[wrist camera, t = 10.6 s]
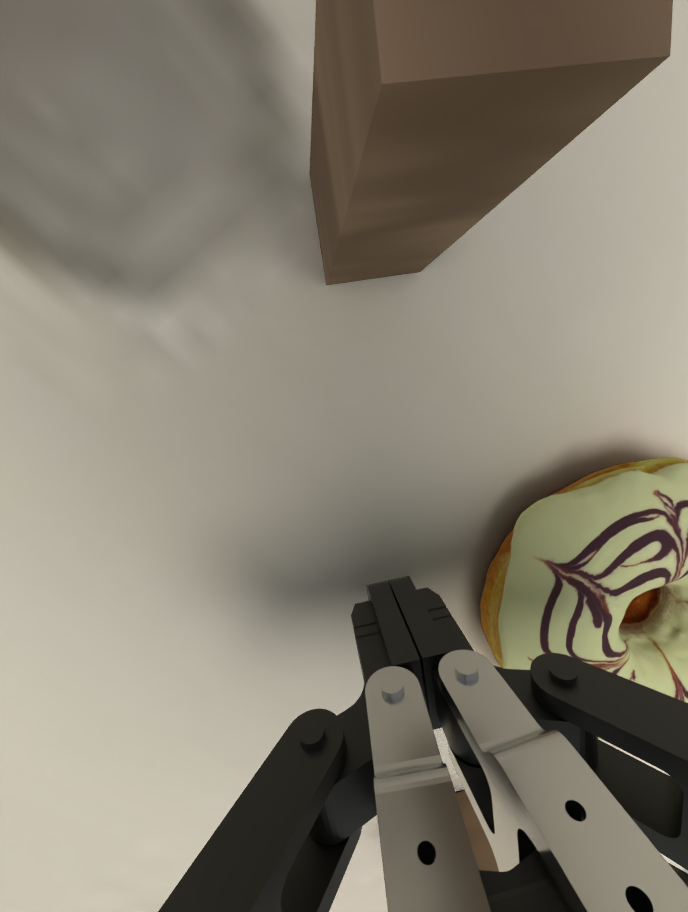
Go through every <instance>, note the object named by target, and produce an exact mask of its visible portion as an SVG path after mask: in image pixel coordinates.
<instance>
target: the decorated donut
mask: <svg viewBox="0 0 688 912" xmlns="http://www.w3.org/2000/svg"><path fill="white" fill-rule="evenodd" d="M480 609H481V624H482V628H483V630H484V632H485V635H486V638H487V640H488V642H489V645H490V647H491V649H492V651H493V654H494V656H495V658H496V659H497V662H498V663H499V665H500V666H501V668H505V669H520V670H530V667H531V663H532V661H533V660H534V659H535V658H536V657H537V656H539V655H542V654H545V653H560V654H564V655H568V656H571V657H573V658H576V659H578V660H581V661H583V662H586V663H588V664H591V665H593V666H596V667H598V668H601V669H603V670H606V671H608V672H611V673H613V674H616V675H618V676H621V677H623V678H626V679H628V680H631V681H633V682H636V683H638V684H641V685H644V686H646V687H649V688H651V689H654V690H656V691H659V692H661V693H664V694H666V695H669V696H671V697H674V698H676V699H679V700H681V701H684V702H686V703H688V461H686V460H683V459H679V458H660V459H648V460H643V461H638V462H629V463H624V464H619V465H614V466H611V467H609V468H605V469H603V470H599V471H596V472H593V473H591V474H589V475H587V476H585V477H583V478H581V479H580V480H578V481H576V482H574V483H572V484H571V485H570V486H568V487H566V488H563V489H562V490H560V491H558V492H556V493H554V494H553V495H551V496H548V497H546V498H543V499H540V500H538V501H537V502H535V503H534V504H532V505H531V506H530V507H529V508H527V509H526V510H525V511H523V512H522V514H521V515H520V516H519V518H518V520H517V522H516V524H515V526H514V529H513V530H512V531H511V532H510V533H509V535H508V536H507V537H506V538H505V539H504V541H503V543H502V545H501V547H500V549H499V551H498V552H497V554H496V555H495V557H494V559H493V560H492V562H491V564H490V566H489V568H488V571H487V576H486V582H485V586H484V590H483V593H482V598H481V602H480ZM598 739H601V738H599V737H598Z"/></svg>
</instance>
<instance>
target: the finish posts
mask: <svg viewBox="0 0 688 912" xmlns="http://www.w3.org/2000/svg"><path fill="white" fill-rule="evenodd" d="M672 5H673V0H316V22H315V47H314V73H313V99H312V125H311V151H310V180H311V187H312V193H313V200H314V206H315V213H316V219H317V226H318V233H319V239H320V246H321V252H322V259H323V265H324V272H325V278H326V285H329V284H336V283H343V282H351V281H358V280H365V279H372V278H379V277H386V276H393V275H401V274H408V273H415V272H420V271H422V270H423V269H424V268H425V267H426V266H427V265H429V264H430V263H431V262H432V261H433V260H434V259H435V258H437V257H438V256H439V255H440V254H441V253H442V252H444V251H445V250H446V249H447V248H448V247H449V246H450V245H452V244H453V243H454V242H455V241H456V240H457V239H459V238H460V237H461V236H462V235H463V234H464V233H465V232H467V231H468V230H469V229H470V228H471V227H472V226H474V225H475V224H476V223H477V222H478V221H479V220H481V219H482V218H483V217H484V216H485V215H486V214H487V213H489V212H490V211H491V210H492V209H493V208H494V207H496V206H497V205H498V204H499V203H500V202H501V201H502V200H504V199H505V198H506V197H507V196H508V195H509V194H511V193H512V192H513V191H514V190H515V189H516V188H518V187H519V186H520V185H521V184H522V183H523V182H524V181H526V180H527V179H528V178H529V177H530V176H531V175H533V174H534V173H535V172H536V171H537V170H538V169H539V168H541V167H542V166H543V165H544V164H545V163H546V162H548V161H549V160H550V159H551V158H552V157H553V156H555V155H556V154H557V153H558V152H559V151H560V150H561V149H563V148H564V147H565V146H566V145H567V144H568V143H570V142H571V141H572V140H573V139H574V138H575V137H576V136H578V135H579V134H580V133H581V132H582V131H583V130H585V129H586V128H587V127H588V126H589V125H590V124H592V123H593V122H594V121H595V120H596V119H597V118H598V117H600V116H601V115H602V114H603V113H604V112H605V111H607V110H608V109H609V108H610V107H611V106H612V105H613V104H615V103H616V102H617V101H618V100H619V99H620V98H622V97H623V96H624V95H625V94H626V93H627V92H628V91H630V90H631V89H632V88H633V87H634V86H635V85H637V84H638V83H639V82H640V81H641V80H642V79H644V78H645V77H646V76H647V75H648V74H649V73H650V72H652V71H653V70H654V69H655V68H656V67H657V66H659V65H660V64H661V63H662V62H663V61H664V60H665V59H667V58H668V57H669V56H670V45H671V25H672ZM456 797H457V800H458V803H459V807H460V810H461V813H462V817H463V820H464V823H465V827H466V830H467V833H468V837H469V840H470V843H471V847H472V850H473V853H474V857H475V860H476V863H477V867H478V870H484V871H498V872H499V869H498V866H497V862H496V859H495V856H494V853H493V850H492V848H491V845H490V843H489V841H488V838H487V836H486V834H485V832H484V830H483V828H482V826H481V823H480V821H479V819H478V817H477V815H476V813H475V811H474V809H473V806H472V804H471V802H470V800H469V798H468V796H467V794H466V791H462V792H458V793H456Z"/></svg>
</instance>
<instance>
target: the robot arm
mask: <svg viewBox="0 0 688 912" xmlns="http://www.w3.org/2000/svg"><path fill="white" fill-rule="evenodd" d="M367 593H368V599H369V601H366V602H361V603H357V604H355V606H354V608H353V611H352V614H351V618H352V623H353V628H354V633H355V639H356V644H357V649H358V654H359V659H360V664H361V669H362V674H363V678H364V688H363V691H362V694H361V696H360V697H359V699H358V700H357V701H356V703H355V704H353V705H352V706H351V707H350V708H348V709H347V710H345V711H344V712H342V713H341V714H339V715H337V716H336V715H335V714H334V713H333V712H331V711H329V710H326V709H313V710H310V711H307V712H305V713H303V714H301V715H300V716H298V717H297V718H296V719H295V720H294V721H293V722H292V723H291V725H290V726H289V727H288V729H287V730H286V732H285V733H284V734H283V736H282V737H281V739H280V740H279V741H278V743H277V744H276V746H275V747H274V749H273V750H272V751H271V753H270V754H269V756H268V757H267V758H266V760H265V761H264V763H263V764H262V766H261V767H260V768H259V770H258V771H257V773H256V774H255V775H254V777H253V778H252V780H251V781H250V783H249V784H248V785H247V787H246V788H245V790H244V791H243V792H242V794H241V795H240V797H239V798H238V800H237V801H236V802H235V804H234V805H233V807H232V808H231V809H230V811H229V812H228V814H227V815H226V817H225V818H224V819H223V821H222V822H221V824H220V825H219V826H218V828H217V829H216V831H215V832H214V834H213V835H212V836H211V838H210V839H209V841H208V842H207V843H206V845H205V846H204V848H203V849H202V851H201V852H200V853H199V855H198V856H197V858H196V859H195V860H194V862H193V863H192V865H191V866H190V867H189V869H188V870H187V872H186V873H185V875H184V876H183V877H182V879H181V880H180V882H179V883H178V884H177V886H176V887H175V889H174V890H173V892H172V893H171V894H170V896H169V897H168V899H167V900H166V901H165V903H164V904H163V906H162V907H161V909H160V910H159V911H158V912H329V910H330V908H331V905H332V903H333V900H334V898H335V895H336V893H337V891H338V888H339V886H340V883H341V881H342V879H343V876H344V874H345V871H346V869H347V867H348V864H349V862H350V859H351V857H352V855H353V852H354V850H355V847H356V845H357V843H358V840H359V837H360V834H361V829H362V826H363V825H364V824H365V823H367V822H368V821H369V820H371V819H372V818H373V817H374V816H376V815H377V817H378V826H379V835H380V844H381V853H382V862H383V871H384V880H385V889H386V898H387V907H388V912H688V874H687V873H686V872H684V871H682V870H680V869H679V868H677V867H675V866H673V865H671V864H670V863H668V862H667V861H666V860H665V859H664V858H663V856H662V855H661V854H663V855H665V856H666V857H668V858H669V859H671V860H672V861H674V862H676V863H677V864H679V865H680V866H682V867H683V868H685V869H687V870H688V703H686V702H684V701H681V700H679V699H676V698H674V697H671V696H669V695H666V694H664V693H661V692H659V691H656V690H654V689H651V688H649V687H646V686H644V685H641V684H638V683H636V682H633V681H631V680H628V679H626V678H623V677H621V676H618V675H616V674H613V673H611V672H608V671H606V670H603V669H601V668H598V667H596V666H593V665H591V664H588V663H586V662H583V661H581V660H578V659H576V658H573V657H571V656H568V655H564V654H560V653H545V654H542V655H539V656H537V657H536V658H535V659H534V660H533V661H532V663H531V667H530V670H520V669H505V668H500V667H497V666H494V665H492V663H491V662H490V661H489V660H488V659H487V658H486V657H484V656H483V655H481V654H479V653H477V652H474V650H473V649H472V647H471V646H470V644H469V642H468V641H467V639H466V638H465V636H464V634H463V633H462V631H461V630H460V628H459V626H458V625H457V623H456V622H455V620H454V618H453V617H452V616H451V614H450V612H449V610H448V609H447V608H446V606H445V604H444V602H443V601H442V599H441V598H440V596H439V595H438V594H436V593H435V592H433V591H432V590H430V589H429V588H428V587H427V588H423V589H419V590H416V588H415V586H414V584H413V582H412V581H411V579H410V577H409V576H406V577H402V578H397V579H393V580H388V582H387V581H384V582H380V583H375V584H371V585H367ZM441 727H442V728H443V731H444V733H445V735H446V738H447V742H448V749H449V755H450V759H451V761H452V764H453V766H454V768H455V770H456V772H457V774H458V776H459V779H460V781H461V783H462V785H463V787H464V789H465V791H466V794H467V796H468V798H469V800H470V802H471V804H472V806H473V809H474V811H475V813H476V815H477V817H478V819H479V821H480V823H481V826H482V828H483V830H484V832H485V834H486V836H487V838H488V841H489V843H490V845H491V848H492V850H493V853H494V856H495V859H496V862H497V866H498V869H499V872H498V871H484V870H478V867H477V863H476V860H475V857H474V853H473V850H472V847H471V843H470V840H469V837H468V833H467V830H466V827H465V823H464V820H463V817H462V813H461V810H460V807H459V803H458V800H457V797H456V793H455V790H454V787H453V783H452V780H451V777H450V774H449V771H448V768H447V766H446V764H445V763H444V764H443V762H442V759H441V756H440V752H439V749H438V745H437V742H436V738H435V735H434V732H433V730H434V729H437V728H441ZM598 737H599V738H601V739H603V740H605V741H607V742H609V743H611V744H613V745H615V746H617V747H619V748H621V749H622V750H624V751H626V752H628V753H630V754H632V755H634V756H636V757H638V758H640V759H642V760H644V761H646V762H648V763H650V764H652V765H654V766H656V767H658V768H660V769H661V770H663V771H665V772H666V773H668V774H669V775H670V776H669V775H666V774H664V773H662V772H660V771H658V770H656V769H654V768H652V767H650V766H648V765H647V764H645V763H643V762H641V761H639V760H637V759H635V758H633V757H631V756H629V755H627V754H625V753H623V752H621V751H619V750H617V749H616V748H614V747H612V746H610V745H608V744H606V743H604V742H602V741H600V740H598ZM659 852H660V853H661V854H660V853H659Z"/></svg>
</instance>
